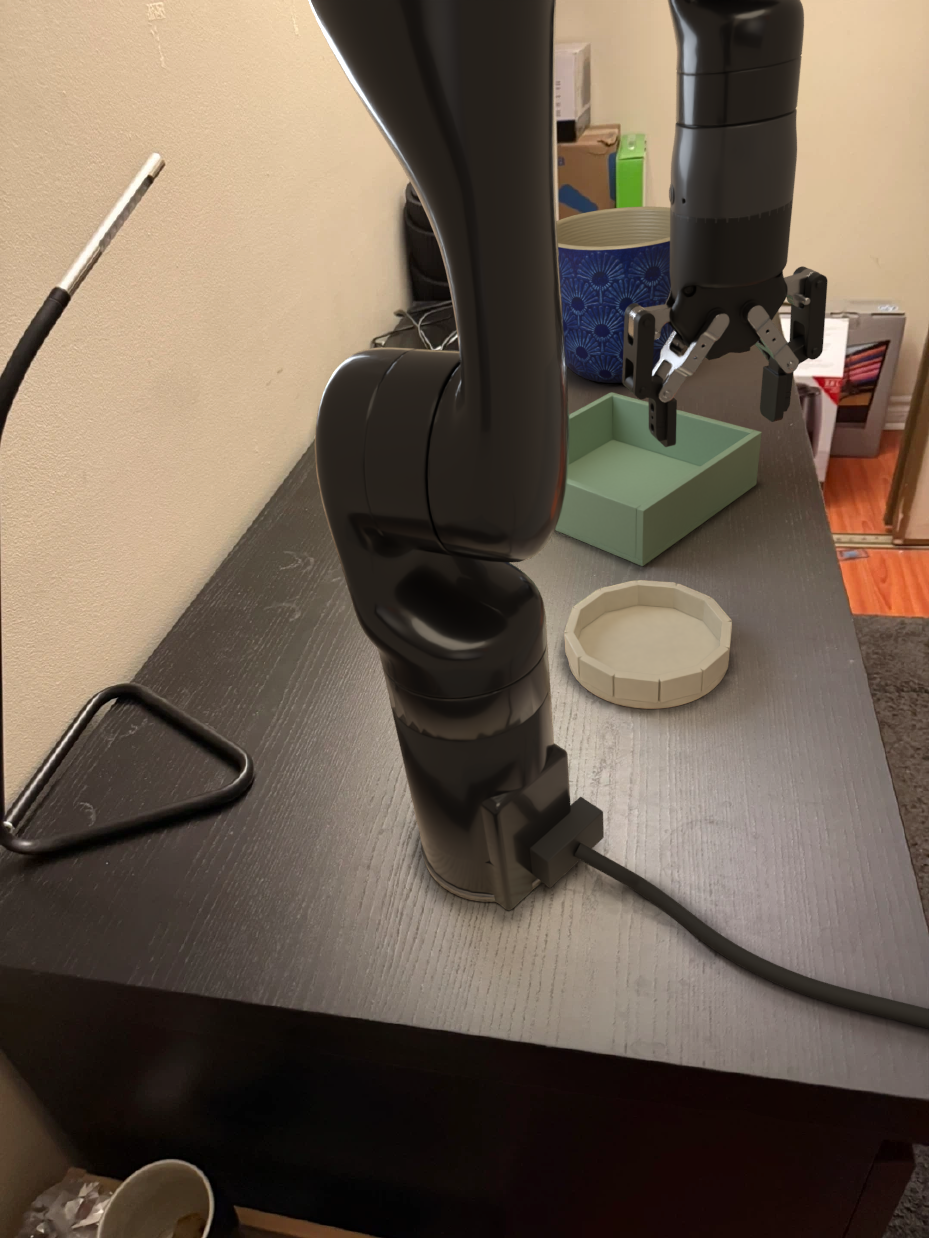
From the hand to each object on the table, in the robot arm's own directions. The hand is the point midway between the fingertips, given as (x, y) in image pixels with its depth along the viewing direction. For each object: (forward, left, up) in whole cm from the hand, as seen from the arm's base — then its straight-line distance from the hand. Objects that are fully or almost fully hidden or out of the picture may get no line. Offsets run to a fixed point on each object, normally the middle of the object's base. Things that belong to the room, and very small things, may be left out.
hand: (718, 429), depth 64 cm
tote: (+18, -12, -17) cm, 28 cm away
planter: (+41, -40, -17) cm, 60 cm away
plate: (0, +8, -17) cm, 19 cm away
